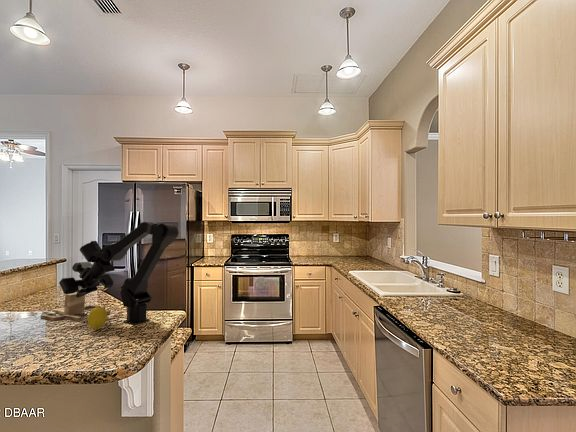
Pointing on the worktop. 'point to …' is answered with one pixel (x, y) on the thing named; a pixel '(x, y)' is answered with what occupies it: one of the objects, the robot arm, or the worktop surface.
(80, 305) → the oak bookend
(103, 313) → the lemon
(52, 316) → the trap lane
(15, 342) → the worktop surface
